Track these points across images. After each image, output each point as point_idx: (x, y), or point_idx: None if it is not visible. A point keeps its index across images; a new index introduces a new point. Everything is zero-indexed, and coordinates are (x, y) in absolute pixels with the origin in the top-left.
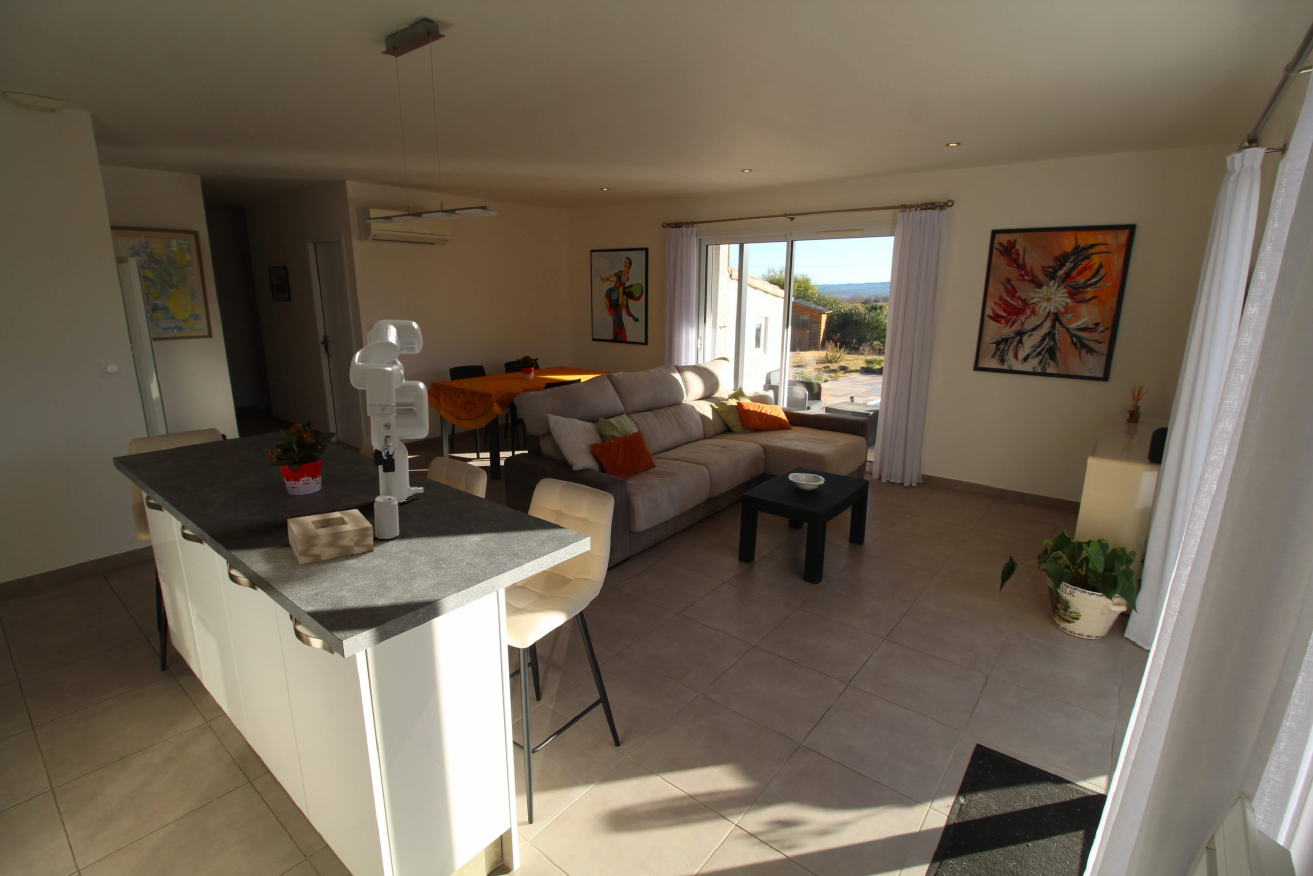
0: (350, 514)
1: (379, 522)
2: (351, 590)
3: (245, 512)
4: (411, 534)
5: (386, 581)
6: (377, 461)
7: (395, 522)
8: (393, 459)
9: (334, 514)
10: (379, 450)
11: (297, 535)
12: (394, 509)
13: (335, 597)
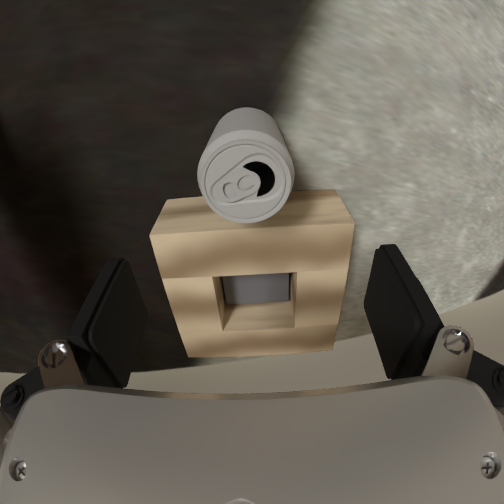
0: (202, 257)
1: (271, 181)
2: (470, 256)
3: (29, 336)
4: (254, 72)
5: (482, 208)
6: (135, 323)
7: (278, 130)
8: (431, 319)
9: (186, 289)
10: (98, 382)
11: (314, 350)
12: (285, 145)
13: (470, 275)
